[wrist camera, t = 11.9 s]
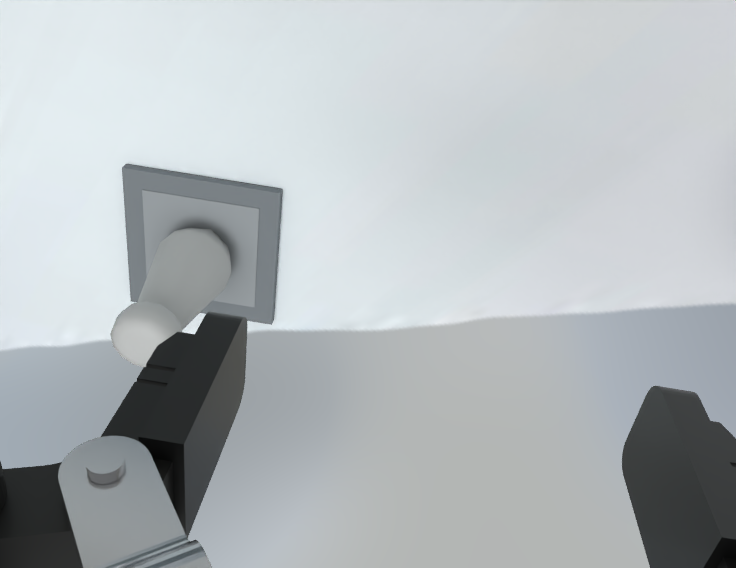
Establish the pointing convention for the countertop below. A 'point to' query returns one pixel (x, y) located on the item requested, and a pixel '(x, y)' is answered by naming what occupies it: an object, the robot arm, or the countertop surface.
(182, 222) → the coaster
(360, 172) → the countertop surface
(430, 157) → the countertop surface
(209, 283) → the grey rounded lobed piece
